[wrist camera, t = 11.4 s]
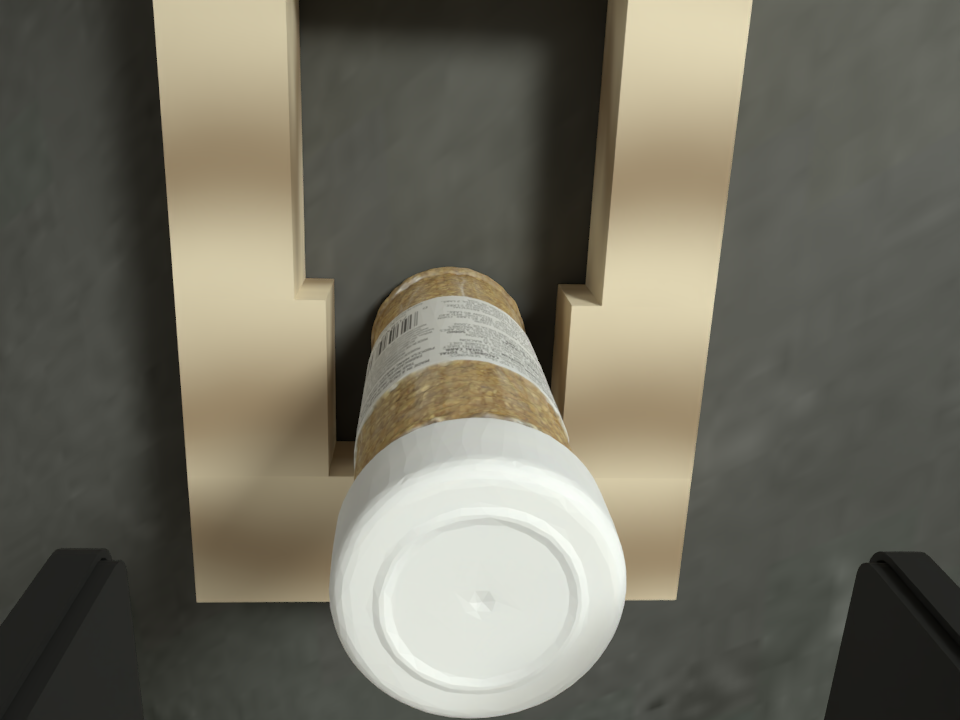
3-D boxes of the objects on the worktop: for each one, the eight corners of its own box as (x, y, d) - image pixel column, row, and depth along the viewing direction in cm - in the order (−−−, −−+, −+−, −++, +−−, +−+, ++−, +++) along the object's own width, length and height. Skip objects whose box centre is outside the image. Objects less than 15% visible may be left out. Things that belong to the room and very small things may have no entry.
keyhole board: (167, -173, 21) (138, -201, 19) (736, -139, 22) (772, -162, 20) (214, 558, 27) (196, 602, 25) (655, 557, 29) (676, 600, 26)
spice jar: (439, 438, 27) (459, 780, 14) (337, 328, 25) (257, 595, 13) (558, 345, 26) (693, 617, 13) (460, 227, 25) (505, 403, 12)
